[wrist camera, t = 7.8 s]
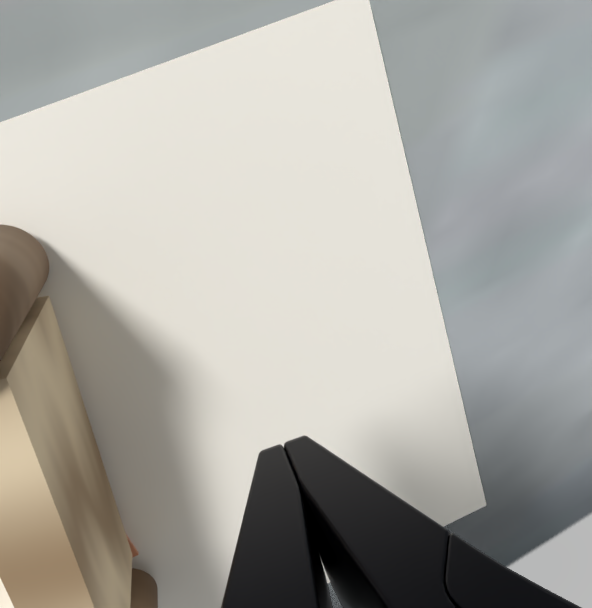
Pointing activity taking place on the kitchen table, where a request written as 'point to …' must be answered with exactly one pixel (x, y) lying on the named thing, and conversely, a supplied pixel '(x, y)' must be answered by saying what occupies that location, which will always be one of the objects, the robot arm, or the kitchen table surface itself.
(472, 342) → the kitchen table surface
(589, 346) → the kitchen table surface
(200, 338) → the card
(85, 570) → the fence gate
